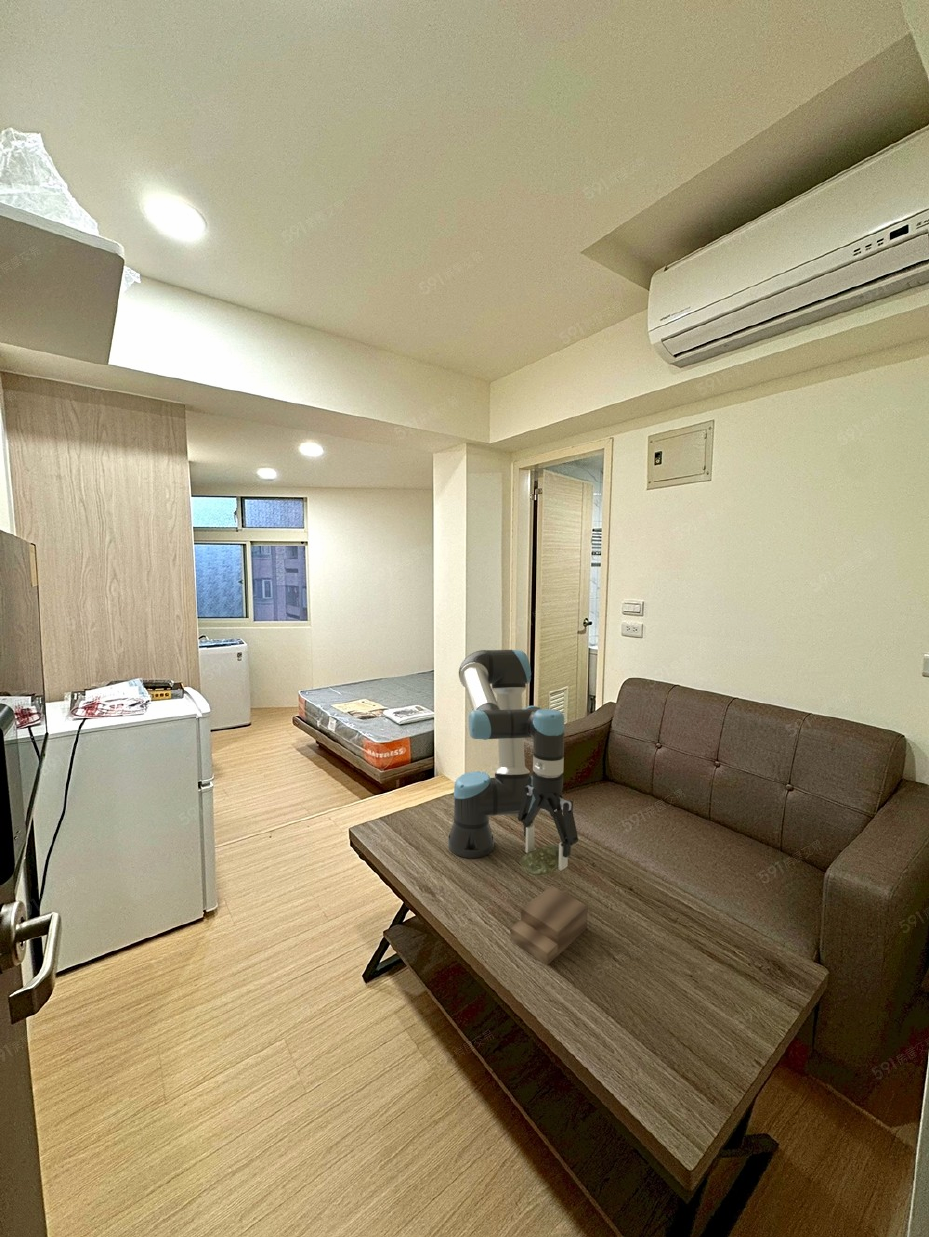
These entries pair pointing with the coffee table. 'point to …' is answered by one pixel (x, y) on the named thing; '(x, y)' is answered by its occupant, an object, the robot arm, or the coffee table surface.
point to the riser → (549, 924)
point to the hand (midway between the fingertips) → (545, 858)
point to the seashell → (541, 860)
